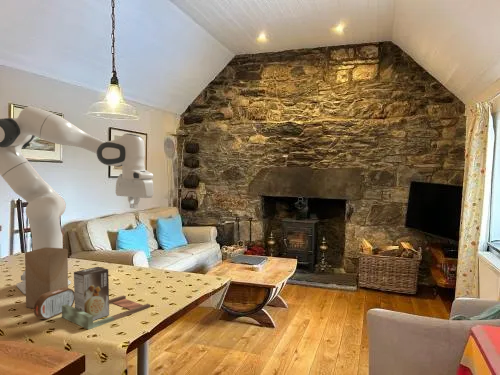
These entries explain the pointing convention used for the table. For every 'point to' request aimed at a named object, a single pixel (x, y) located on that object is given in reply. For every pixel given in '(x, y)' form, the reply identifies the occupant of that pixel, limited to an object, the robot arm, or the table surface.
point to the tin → (53, 302)
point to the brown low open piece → (87, 319)
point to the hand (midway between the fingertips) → (133, 208)
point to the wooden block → (45, 272)
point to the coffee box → (92, 291)
